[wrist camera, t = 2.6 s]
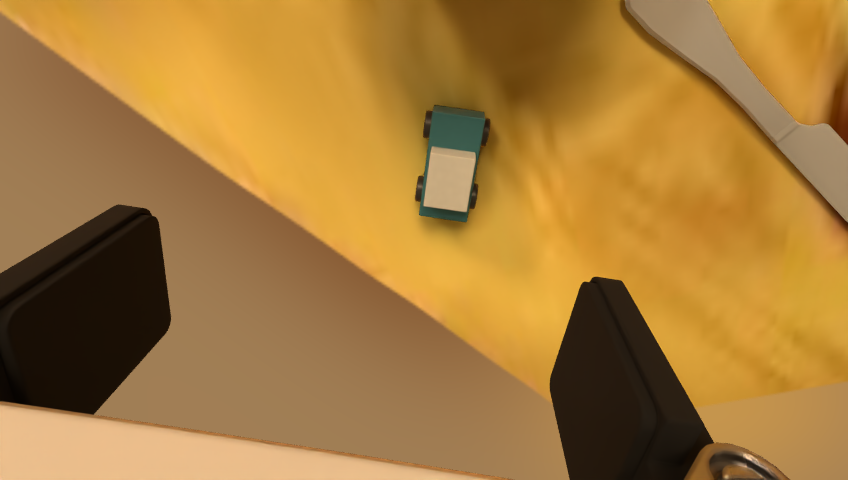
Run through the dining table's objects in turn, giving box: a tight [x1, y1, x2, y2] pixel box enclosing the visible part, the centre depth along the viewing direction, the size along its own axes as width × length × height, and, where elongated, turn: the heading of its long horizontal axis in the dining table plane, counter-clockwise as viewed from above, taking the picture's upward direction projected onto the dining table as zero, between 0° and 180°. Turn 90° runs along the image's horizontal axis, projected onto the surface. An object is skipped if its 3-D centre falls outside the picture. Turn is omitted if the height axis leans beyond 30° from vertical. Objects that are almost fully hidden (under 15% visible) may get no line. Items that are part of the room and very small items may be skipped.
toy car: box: [415, 105, 490, 222], centre depth 25 cm, size 6×3×3 cm, turn 173°
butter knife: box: [625, 0, 848, 222], centre depth 24 cm, size 1×24×3 cm
